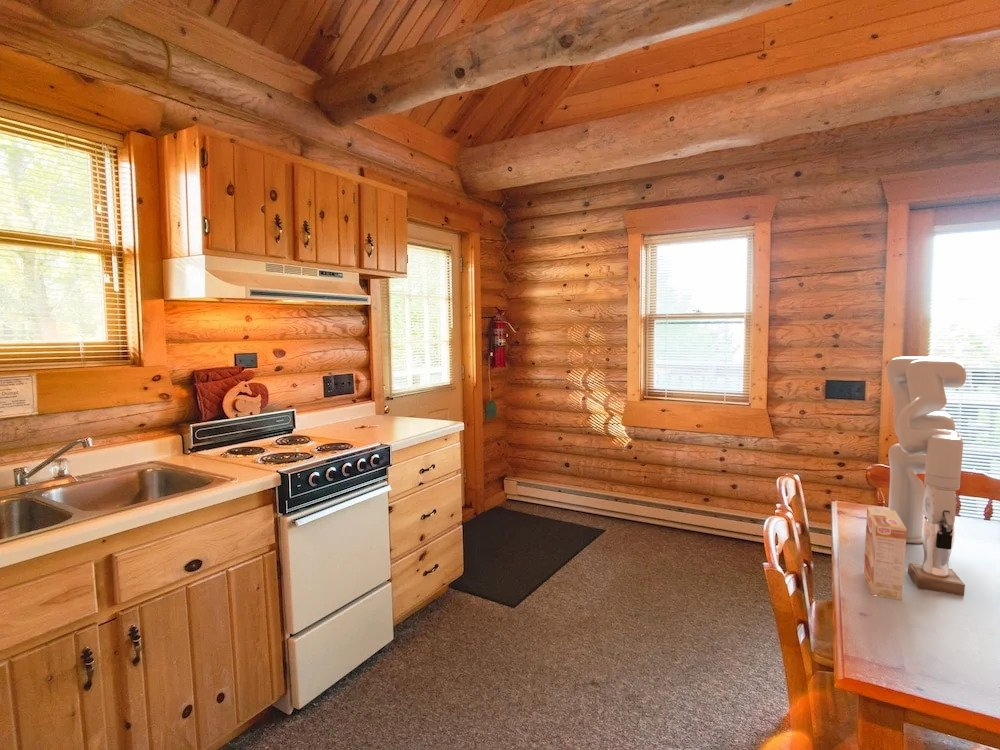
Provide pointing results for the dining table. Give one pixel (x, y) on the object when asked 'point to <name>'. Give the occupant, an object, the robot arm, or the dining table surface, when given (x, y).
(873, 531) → the coffeecake box
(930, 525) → the beer glass
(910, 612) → the dining table surface
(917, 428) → the robot arm
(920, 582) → the oak board
